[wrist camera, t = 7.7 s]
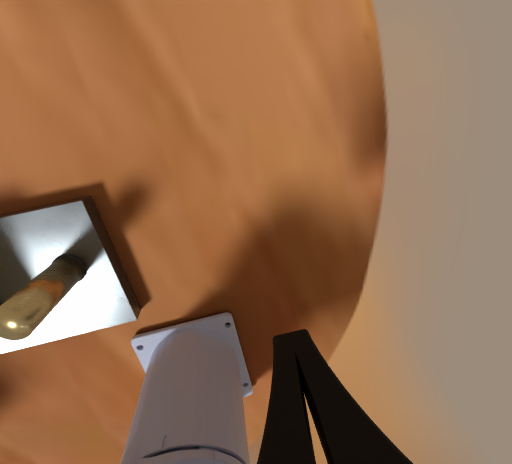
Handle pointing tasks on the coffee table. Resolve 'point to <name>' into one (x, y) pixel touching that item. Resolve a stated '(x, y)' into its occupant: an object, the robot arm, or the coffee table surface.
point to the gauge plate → (59, 238)
